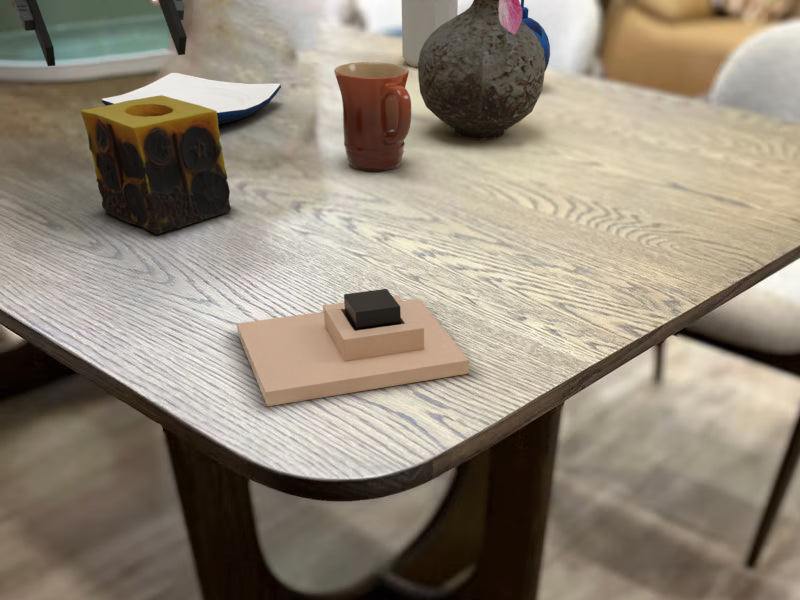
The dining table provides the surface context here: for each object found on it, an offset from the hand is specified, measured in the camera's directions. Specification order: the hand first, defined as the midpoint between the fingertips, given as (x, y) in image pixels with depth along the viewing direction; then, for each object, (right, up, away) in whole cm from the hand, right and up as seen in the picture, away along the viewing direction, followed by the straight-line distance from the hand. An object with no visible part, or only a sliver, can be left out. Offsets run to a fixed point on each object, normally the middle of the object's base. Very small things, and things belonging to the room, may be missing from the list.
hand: (118, 51), depth 88 cm
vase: (+39, +7, +29) cm, 50 cm away
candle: (+4, -15, +4) cm, 16 cm away
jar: (+31, +38, +62) cm, 79 cm away
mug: (+26, -4, +17) cm, 31 cm away
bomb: (+45, +26, +49) cm, 71 cm away
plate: (-2, +14, +35) cm, 37 cm away
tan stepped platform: (+27, -38, -20) cm, 50 cm away
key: (+29, -35, -21) cm, 50 cm away
